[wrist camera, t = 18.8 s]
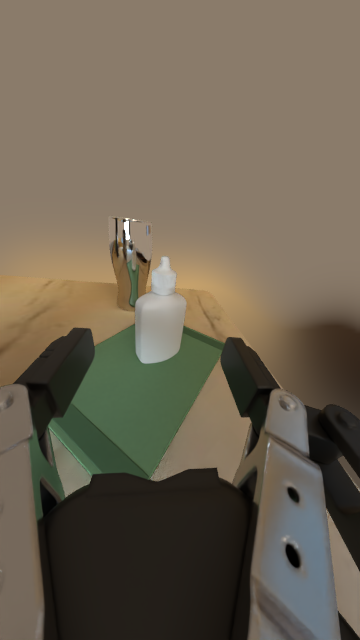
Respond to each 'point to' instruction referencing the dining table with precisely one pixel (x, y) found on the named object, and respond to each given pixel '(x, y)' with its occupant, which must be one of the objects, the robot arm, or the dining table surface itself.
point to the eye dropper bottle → (159, 317)
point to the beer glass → (130, 258)
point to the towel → (133, 403)
